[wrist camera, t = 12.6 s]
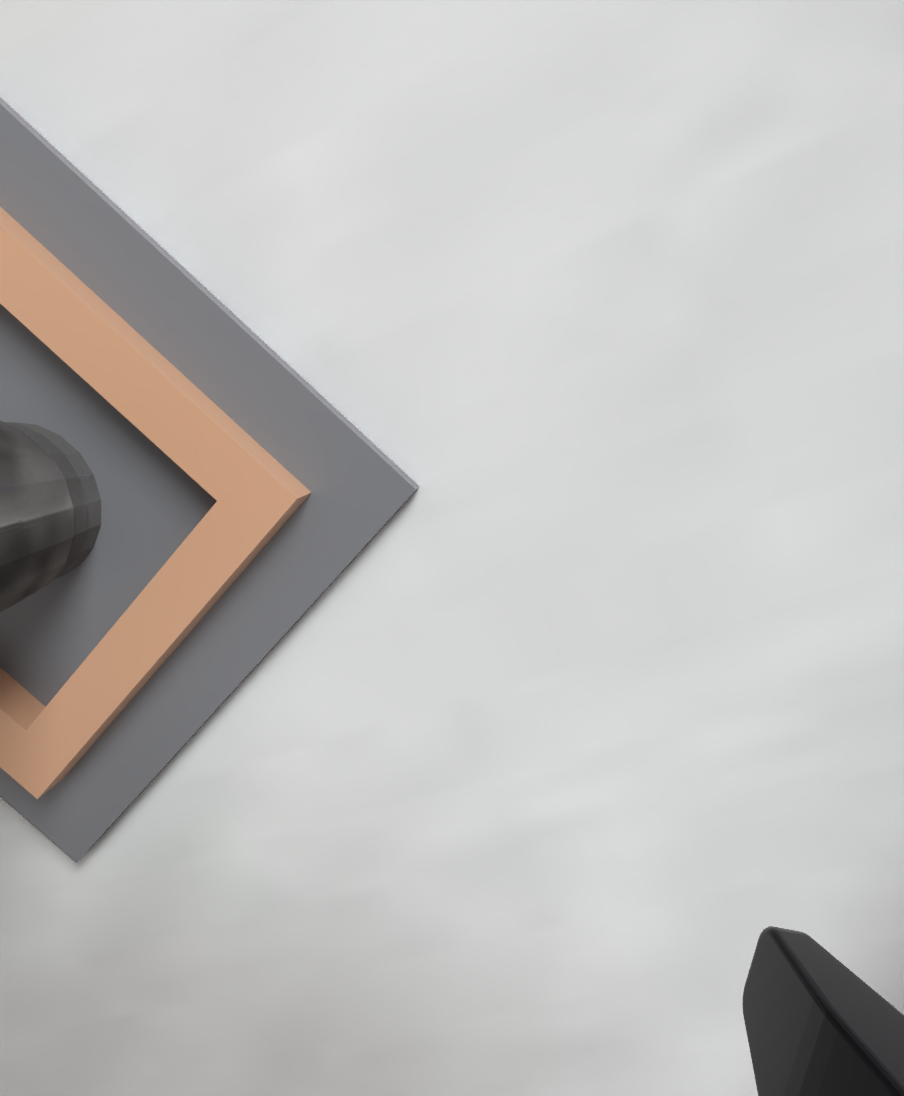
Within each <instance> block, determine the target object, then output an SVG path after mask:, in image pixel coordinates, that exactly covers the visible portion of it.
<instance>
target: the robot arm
mask: <svg viewBox="0 0 904 1096" xmlns="http://www.w3.org/2000/svg"><path fill="white" fill-rule="evenodd" d="M743 1014H744V1020H745V1026H746V1031H747V1037H748V1042H749V1047H750V1053H751V1058H752V1064H753V1069H754V1074H755V1080H756V1085H757V1090H758V1096H904V1015H903V1014H902V1013H900V1012H899V1011H898V1010H897V1009H896V1008H894V1007H893V1006H892V1005H891V1004H890V1003H888V1002H887V1001H886V1000H885V999H884V998H883V997H881V996H880V995H879V994H878V993H877V992H875V991H874V990H873V989H872V988H871V987H869V986H868V985H867V984H866V983H865V982H863V981H862V980H861V979H860V978H859V977H857V976H856V975H855V974H854V973H853V972H852V971H850V970H849V969H848V968H847V967H846V966H844V965H843V964H842V963H841V962H840V961H838V960H837V959H836V958H835V957H834V956H832V955H831V954H830V953H829V952H828V951H826V950H825V949H824V948H823V947H822V946H821V945H819V944H818V943H817V942H816V941H815V940H813V939H812V938H811V937H810V936H808V935H807V934H805V933H803V932H799V931H794V930H789V929H783V928H778V927H773V926H769V927H768V928H766V929H764V930H763V931H762V933H761V935H760V937H759V940H758V943H757V946H756V950H755V953H754V956H753V960H752V963H751V967H750V970H749V973H748V977H747V980H746V984H745V987H744V992H743Z"/></svg>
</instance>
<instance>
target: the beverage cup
mask: <svg viewBox="0 0 904 1096" xmlns="http://www.w3.org/2000/svg"><path fill="white" fill-rule="evenodd" d="M100 526H101V498H100V495H99V491H98V488H97V484H96V481H95V478H94V475H93V473H92V472H91V470H90V468H89V467H88V465H87V464H86V462H85V461H84V459H83V457H82V456H81V454H80V453H79V452H78V451H77V450H76V449H75V448H74V447H73V446H71V445H70V444H69V443H68V442H67V441H66V440H65V439H64V438H62V437H61V436H60V435H58V434H56V433H54V432H52V431H50V430H47V429H45V428H43V427H41V426H39V425H35V424H27V423H18V422H2V421H0V612H2V611H3V610H5V609H7V608H9V607H11V606H13V605H15V604H16V603H18V602H20V601H22V600H24V599H26V598H28V597H29V596H31V595H33V594H34V593H36V592H37V591H39V590H41V589H42V588H44V587H45V586H47V585H49V584H50V583H51V582H52V580H54V579H56V578H59V577H61V576H63V575H65V574H66V573H68V572H69V571H71V570H73V569H74V568H76V567H77V566H79V565H80V564H81V563H82V562H83V560H84V559H85V558H86V556H87V555H88V554H89V553H90V551H91V550H92V549H93V547H94V545H95V542H96V539H97V535H98V532H99V529H100Z"/></svg>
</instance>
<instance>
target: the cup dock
mask: <svg viewBox="0 0 904 1096" xmlns="http://www.w3.org/2000/svg"><path fill="white" fill-rule="evenodd" d="M0 421H2V422H18V423H27V424H35V425H39V426H41V427H43V428H45V429H47V430H50V431H52V432H54V433H56V434H58V435H60V436H61V437H62V438H64V439H65V440H66V441H67V442H68V443H69V444H70V445H71V446H73V447H74V448H75V449H76V450H77V451H78V452H79V453H80V454H81V456H82V457H83V459H84V461H85V462H86V464H87V465H88V467H89V468H90V470H91V472H92V473H93V475H94V478H95V481H96V484H97V488H98V491H99V495H100V498H101V526H100V529H99V532H98V535H97V539H96V542H95V545H94V547H93V549H92V550H91V551H90V553H89V554H88V555H87V556H86V558H85V559H84V560H83V562H82V563H81V564H80V565H79V566H77V567H76V568H74V569H73V570H71V571H69V572H68V573H66V574H65V575H63V576H61V577H59V578H56V579H54V580H52V582H51V583H50V584H49V585H47V586H45V587H44V588H42V589H41V590H39V591H37V592H36V593H34V594H33V595H31V596H29V597H28V598H26V599H24V600H22V601H20V602H18V603H16V604H15V605H13V606H11V607H9V608H7V609H5V610H3V611H2V612H0V797H1V798H2V799H4V800H5V801H6V802H7V803H8V804H9V805H10V806H12V807H13V808H14V809H15V810H16V811H17V812H18V813H20V814H21V815H22V816H23V817H24V818H25V819H27V820H28V821H29V822H30V823H31V824H32V825H33V826H35V827H36V828H37V829H38V830H39V831H40V832H41V833H43V834H44V835H45V836H46V837H47V838H48V839H50V840H51V841H52V842H53V843H54V844H55V845H56V846H58V847H59V848H60V849H61V850H62V851H63V852H65V853H66V854H67V855H68V856H69V857H70V858H71V859H73V860H74V861H75V862H77V861H78V860H79V859H80V858H81V857H82V856H83V855H84V854H85V853H86V852H87V851H88V850H89V849H90V848H91V847H92V846H93V845H94V843H95V842H96V841H97V840H98V839H99V838H100V837H101V836H102V835H103V834H104V832H105V831H106V830H107V829H108V828H109V827H110V826H111V825H112V824H113V823H114V821H115V820H116V819H117V818H118V817H119V816H120V815H121V814H122V813H123V812H124V810H125V809H126V808H127V807H128V806H129V805H130V804H131V803H132V802H133V801H134V800H135V798H136V797H137V796H138V795H139V794H140V793H141V792H142V791H143V790H144V789H145V787H146V786H147V785H148V784H149V783H150V782H151V781H152V780H153V779H154V778H155V776H156V775H157V774H158V773H159V772H160V771H161V770H162V769H163V768H164V767H165V765H166V764H167V763H168V762H169V761H170V760H171V759H172V758H173V757H174V756H175V754H176V753H177V752H178V751H179V750H180V749H181V748H182V747H183V746H184V745H185V743H186V742H187V741H188V740H189V739H190V738H191V737H192V736H193V735H194V734H195V733H196V731H197V730H198V729H199V728H200V727H201V726H202V725H203V724H204V723H205V722H206V720H207V719H208V718H209V717H210V716H211V715H212V714H213V713H214V712H215V711H216V709H217V708H218V707H219V706H220V705H221V704H222V703H223V702H224V701H225V700H226V698H227V697H228V696H229V695H230V694H231V693H232V692H233V691H234V690H235V689H236V687H237V686H238V685H239V684H240V683H241V682H242V681H243V680H244V679H245V678H246V676H247V675H248V674H249V673H250V672H251V671H252V670H253V669H254V668H255V667H256V666H257V664H258V663H259V662H260V661H261V660H262V659H263V658H264V657H265V656H266V655H267V653H268V652H269V651H270V650H271V649H272V648H273V647H274V646H275V645H276V644H277V642H278V641H279V640H280V639H281V638H282V637H283V636H284V635H285V634H286V633H287V631H288V630H289V629H290V628H291V627H292V626H293V625H294V624H295V623H296V622H297V620H298V619H299V618H300V617H301V616H302V615H303V614H304V613H305V612H306V611H307V609H308V608H309V607H310V606H311V605H312V604H313V603H314V602H315V601H316V600H317V599H318V597H319V596H320V595H321V594H322V593H323V592H324V591H325V590H326V589H327V588H328V586H329V585H330V584H331V583H332V582H333V581H334V580H335V579H336V578H337V577H338V575H339V574H340V573H341V572H342V571H343V570H344V569H345V568H346V567H347V566H348V564H349V563H350V562H351V561H352V560H353V559H354V558H355V557H356V556H357V555H358V553H359V552H360V551H361V550H362V549H363V548H364V547H365V546H366V545H367V544H368V542H369V541H370V540H371V539H372V538H373V537H374V536H375V535H376V534H377V533H378V532H379V530H380V529H381V528H382V527H383V526H384V525H385V524H386V523H387V522H388V521H389V519H390V518H391V517H392V516H393V515H394V514H395V513H396V512H397V511H398V510H399V508H400V507H401V506H402V505H403V504H404V503H405V502H406V501H407V500H408V499H409V497H410V496H411V495H412V494H413V493H414V492H415V491H416V490H417V489H418V488H419V486H418V485H417V484H416V483H415V482H414V481H413V480H412V479H411V478H410V477H409V476H407V475H406V474H405V473H404V472H403V471H402V470H401V469H400V468H399V467H398V466H397V465H396V464H395V463H393V462H392V461H391V460H390V459H389V458H388V457H387V456H386V455H385V454H384V453H383V452H382V451H381V450H379V449H378V448H377V447H376V446H375V445H374V444H373V443H372V442H371V441H370V440H369V439H368V438H367V437H365V436H364V435H363V434H362V433H361V432H360V431H359V430H358V429H357V428H356V427H355V426H354V425H353V424H351V423H350V422H349V421H348V420H347V419H346V418H345V417H344V416H343V415H342V414H341V413H340V412H339V411H337V410H336V409H335V408H334V407H333V406H332V405H331V404H330V403H329V402H328V401H327V400H326V399H325V398H323V397H322V396H321V395H320V394H319V393H318V392H317V391H316V390H315V389H314V388H313V387H312V386H311V385H309V384H308V383H307V382H306V381H305V380H304V379H303V378H302V377H301V376H300V375H299V374H298V373H297V372H295V371H294V370H293V369H292V368H291V367H290V366H289V365H288V364H287V363H286V362H285V361H284V360H283V359H281V358H280V357H279V356H278V355H277V354H276V353H275V352H274V351H273V350H272V349H271V348H270V347H269V346H267V345H266V344H265V343H264V342H263V341H262V340H261V339H260V338H259V337H258V336H257V335H256V334H255V333H253V332H252V331H251V330H250V329H249V328H248V327H247V326H246V325H245V324H244V323H243V322H242V321H241V320H239V319H238V318H237V317H236V316H235V315H234V314H233V313H232V312H231V311H230V310H229V309H228V308H227V307H225V306H224V305H223V304H222V303H221V302H220V301H219V300H218V299H217V298H216V297H215V296H214V295H213V294H211V293H210V292H209V291H208V290H207V289H206V288H205V287H204V286H203V285H202V284H201V283H200V282H199V281H197V280H196V279H195V278H194V277H193V276H192V275H191V274H190V273H189V272H188V271H187V270H186V269H185V268H183V267H182V266H181V265H180V264H179V263H178V262H177V261H176V260H175V259H174V258H173V257H172V256H171V255H169V254H168V253H167V252H166V251H165V250H164V249H163V248H162V247H161V246H160V245H159V244H158V243H157V242H155V241H154V240H153V239H152V238H151V237H150V236H149V235H148V234H147V233H146V232H145V231H144V230H143V229H141V228H140V227H139V226H138V225H137V224H136V223H135V222H134V221H133V220H132V219H131V218H130V217H129V216H127V215H126V214H125V213H124V212H123V211H122V210H121V209H120V208H119V207H118V206H117V205H116V204H115V203H113V202H112V201H111V200H110V199H109V198H108V197H107V196H106V195H105V194H104V193H103V192H102V191H101V190H99V189H98V188H97V187H96V186H95V185H94V184H93V183H92V182H91V181H90V180H89V179H88V178H87V177H85V176H84V175H83V174H82V173H81V172H80V171H79V170H78V169H77V168H76V167H75V166H74V165H73V164H71V163H70V162H69V161H68V160H67V159H66V158H65V157H64V156H63V155H62V154H61V153H60V152H59V151H58V150H56V149H55V148H54V147H53V146H52V145H51V144H50V143H49V142H48V141H47V140H46V139H45V138H44V137H42V136H41V135H40V134H39V133H38V132H37V131H36V130H35V129H34V128H33V127H32V126H31V125H30V124H28V123H27V122H26V121H25V120H24V119H23V118H22V117H21V116H20V115H19V114H18V113H17V112H16V111H14V110H13V109H12V108H11V107H10V106H9V105H8V104H7V103H6V102H5V101H4V100H3V99H2V98H0Z"/></svg>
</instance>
